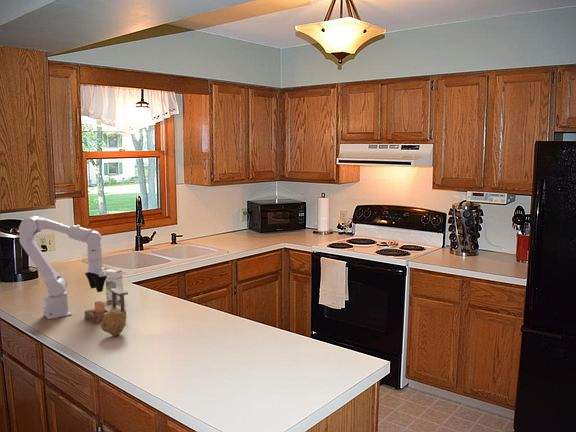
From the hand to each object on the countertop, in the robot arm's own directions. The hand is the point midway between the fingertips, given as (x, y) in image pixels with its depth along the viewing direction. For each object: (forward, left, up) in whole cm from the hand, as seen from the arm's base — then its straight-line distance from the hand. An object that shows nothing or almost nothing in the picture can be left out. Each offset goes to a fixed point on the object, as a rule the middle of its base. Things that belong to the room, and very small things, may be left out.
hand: (96, 289), depth 226 cm
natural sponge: (-6, -33, -10) cm, 35 cm away
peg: (-3, -10, -10) cm, 14 cm away
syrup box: (+13, +13, -10) cm, 21 cm away
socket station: (0, -10, -10) cm, 14 cm away
